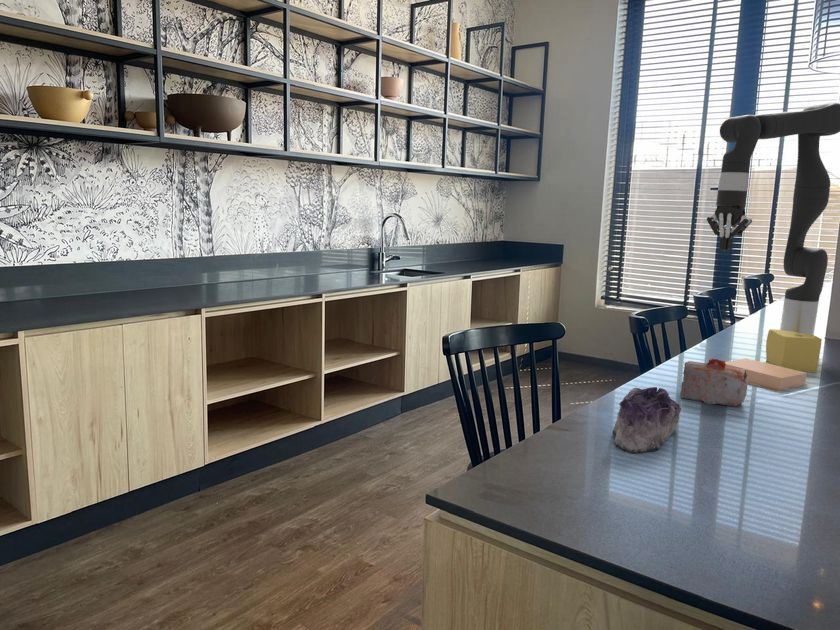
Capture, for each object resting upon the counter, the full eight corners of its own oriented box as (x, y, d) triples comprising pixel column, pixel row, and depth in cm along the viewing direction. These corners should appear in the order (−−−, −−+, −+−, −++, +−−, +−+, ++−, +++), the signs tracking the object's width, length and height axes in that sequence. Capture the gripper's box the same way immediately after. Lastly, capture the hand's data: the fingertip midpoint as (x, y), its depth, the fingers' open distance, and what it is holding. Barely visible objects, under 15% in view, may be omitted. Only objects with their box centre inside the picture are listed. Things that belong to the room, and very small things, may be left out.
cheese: (800, 364, 187) (805, 330, 185) (818, 374, 177) (824, 338, 175) (763, 362, 188) (767, 328, 186) (779, 371, 177) (784, 336, 176)
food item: (744, 401, 147) (750, 360, 146) (744, 411, 140) (750, 367, 138) (680, 391, 153) (685, 351, 151) (678, 400, 146) (683, 358, 144)
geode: (670, 463, 110) (668, 407, 108) (602, 456, 115) (599, 403, 114) (686, 425, 127) (685, 376, 125) (627, 421, 133) (624, 374, 131)
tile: (746, 358, 175) (806, 372, 162) (744, 369, 176) (805, 384, 163) (720, 362, 169) (781, 378, 156) (719, 373, 169) (779, 390, 156)
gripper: (763, 190, 177) (754, 252, 180) (718, 189, 188) (711, 248, 191) (747, 189, 173) (739, 253, 176) (703, 188, 184) (696, 249, 187)
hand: (724, 250), depth 183 cm, fingers closed
